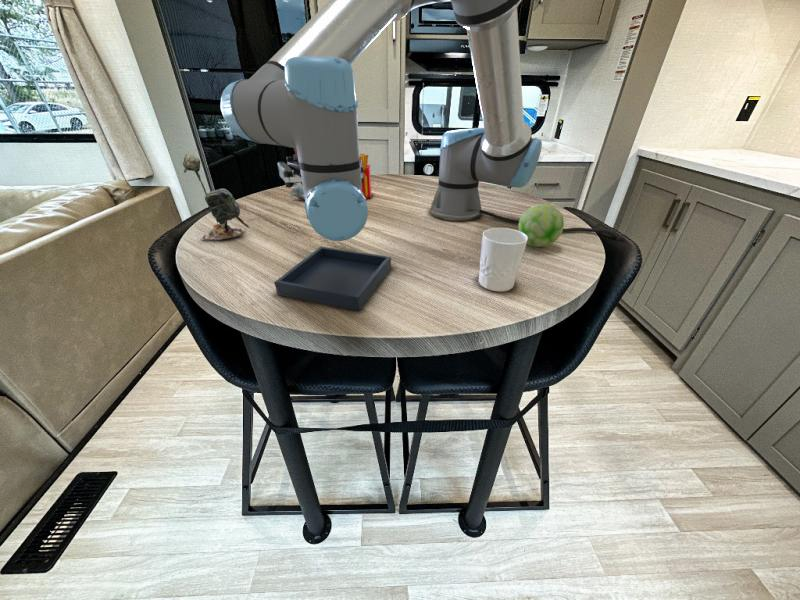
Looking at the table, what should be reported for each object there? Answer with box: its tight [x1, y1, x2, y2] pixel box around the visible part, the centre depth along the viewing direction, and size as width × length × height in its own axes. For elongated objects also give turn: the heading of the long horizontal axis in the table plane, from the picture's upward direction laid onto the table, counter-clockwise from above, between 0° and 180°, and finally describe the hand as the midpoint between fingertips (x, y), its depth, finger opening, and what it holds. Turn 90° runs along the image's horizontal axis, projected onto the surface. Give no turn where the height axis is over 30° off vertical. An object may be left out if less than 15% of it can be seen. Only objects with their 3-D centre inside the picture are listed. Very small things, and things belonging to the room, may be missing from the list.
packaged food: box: [290, 184, 305, 201], centre depth 111 cm, size 9×12×5 cm
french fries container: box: [359, 153, 372, 200], centre depth 110 cm, size 7×9×14 cm
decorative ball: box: [517, 203, 565, 248], centre depth 76 cm, size 10×10×10 cm
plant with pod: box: [182, 153, 250, 241], centre depth 78 cm, size 8×11×20 cm
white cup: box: [478, 227, 528, 293], centre depth 61 cm, size 8×8×10 cm
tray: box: [274, 246, 392, 312], centre depth 63 cm, size 17×17×3 cm
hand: (318, 160), depth 69 cm, fingers closed on plastic cup, 9 cm apart
